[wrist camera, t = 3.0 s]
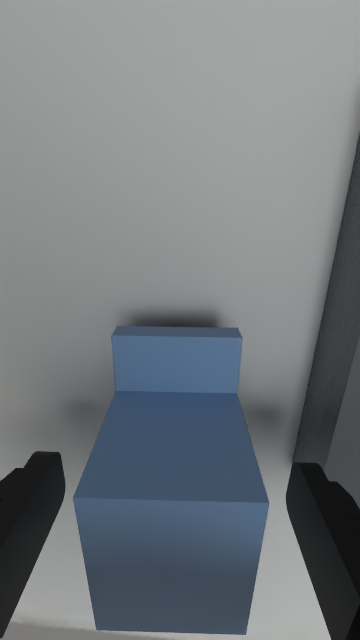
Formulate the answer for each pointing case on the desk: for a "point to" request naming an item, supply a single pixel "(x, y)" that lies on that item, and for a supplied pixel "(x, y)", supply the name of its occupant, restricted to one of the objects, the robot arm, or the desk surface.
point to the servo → (173, 488)
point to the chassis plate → (338, 363)
